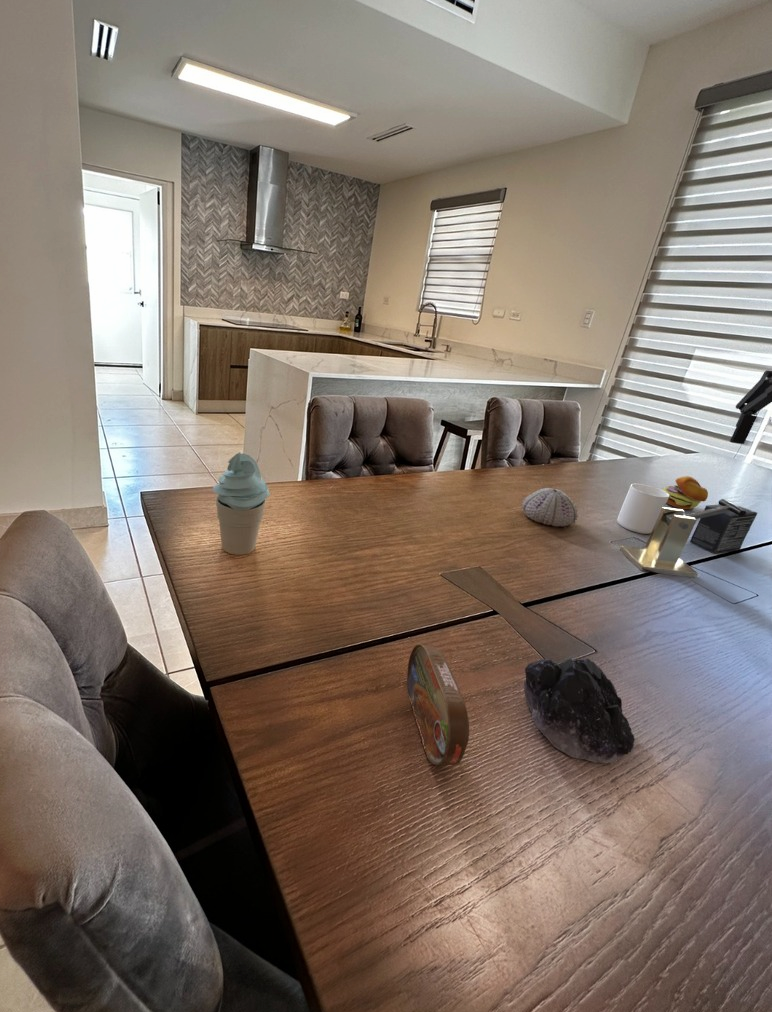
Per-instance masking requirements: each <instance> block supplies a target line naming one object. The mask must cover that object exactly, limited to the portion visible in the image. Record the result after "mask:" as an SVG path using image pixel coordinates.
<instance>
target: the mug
mask: <svg viewBox="0 0 772 1012" xmlns="http://www.w3.org/2000/svg"><path fill="white" fill-rule="evenodd" d="M668 498H669V494H668V493H667V492H665V491H663V490H662V489H661V488H658V487H656V486H653V485H648V484H643V483H631V484H630V486H629V488H628V492H627V494H626V496H625V498H624V501H623V504H622V506H621V508H620V511H619V513H618V516H617V524H618V525H619V526H620V527H622V528H624V529H626V530H628V531H631V532H633V533H637V534H642V535H650V534H651V532H652V530H653V527H654V525H655V523H656V521H657V518H658V516H659V514H660V511H661V509H662V507H666V505H667V504H668V503H667V501H668Z"/></svg>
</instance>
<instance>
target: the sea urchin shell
mask: <svg viewBox="0 0 772 1012" xmlns="http://www.w3.org/2000/svg"><path fill="white" fill-rule="evenodd" d="M521 509H522V512H523V513H524V515H526V516H527V517H528V518H529V519H530V520H532V521H535V522H537V523H541V524H543V525H547V526H552V527H567V526H568V527H569V526H571V525H573V524H574V523H576V521H577V520H578V517H579V516H578V509H577V506H576V505H575V502H574V501H573V500H572V498H570V496H569V495H568V494H567V493H565V492H563V491H562V490H560V489H556V488H551V487H545V488H540V489H537V490H536V491H534V492H532V493H530V494H529V495H527V496H526V497H525V498H524V499H523V501H522V504H521Z"/></svg>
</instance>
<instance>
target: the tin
mask: <svg viewBox="0 0 772 1012" xmlns="http://www.w3.org/2000/svg"><path fill="white" fill-rule="evenodd" d="M409 655H410V656H409V659H408V662H407V663H408V664H407V672H406V689H407V695H408V694H409V696H410V698H411V702H412V706H414V710H415V711H414V712H415V714H416V716H415V717H416V719H417V722H418V724H419V726H420V730H421V734H422V737H423V739H424V746H425V747H426V748H425V750H426V751H424V753H425V752H426V754H425V756H426V755H427V756H426V757H427V759H428V761H429V762H430V764H432V765H433V766H439V765H442V766H456V765H458V764H460V762H461V761H462V759H463V757H464V755H465V752H466V750H467V746H468V744H469V740H470V739H469V738H470V721H469V714H468V709H467V705H466V703H465V700H464V698H463V695H462V693H461V690H460V688H459V685H458V683H457V682H456V679H455V677H454V674H453V671H452V669H451V667H450V665H449V663H448V661H447V658H446V655H445V654H444V652H443V651H442V650H441V648H438V647H436V646H430V645H423V644H416V645H415V646H414V647H413V648H412V649H411V653H410V654H409Z"/></svg>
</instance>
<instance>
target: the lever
mask: <svg viewBox="0 0 772 1012" xmlns="http://www.w3.org/2000/svg"><path fill="white" fill-rule="evenodd" d="M717 503H718V504H719V505H721V506H722V507H717V508H713V509H709V510H705V511H704V510H700V511H696V512H691V513H688V514H687V513H686V514H684V515H683V514H682V513H680V512H678V513H673V514H669V515H666V524H667V525H668V526H669V524H670V522H671V520H672V518H673V515H678V516H686V517H694V518H696V519H697V520H698V519H699V520H700V518H704V517H708V516H712V515H717V514H721V513H726V512H730V511H731V512H733V513H735V514H737V515H738V516H740V517H742V516H745V515H746V511H745V510H743V509H741V508H739V507H737V506H736V505H737V504H735V503H732V502H731V501H729V500H728V499H727V500H726V499H725V498H721V499H720V500H718V502H717ZM734 504H735V505H734Z"/></svg>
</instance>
